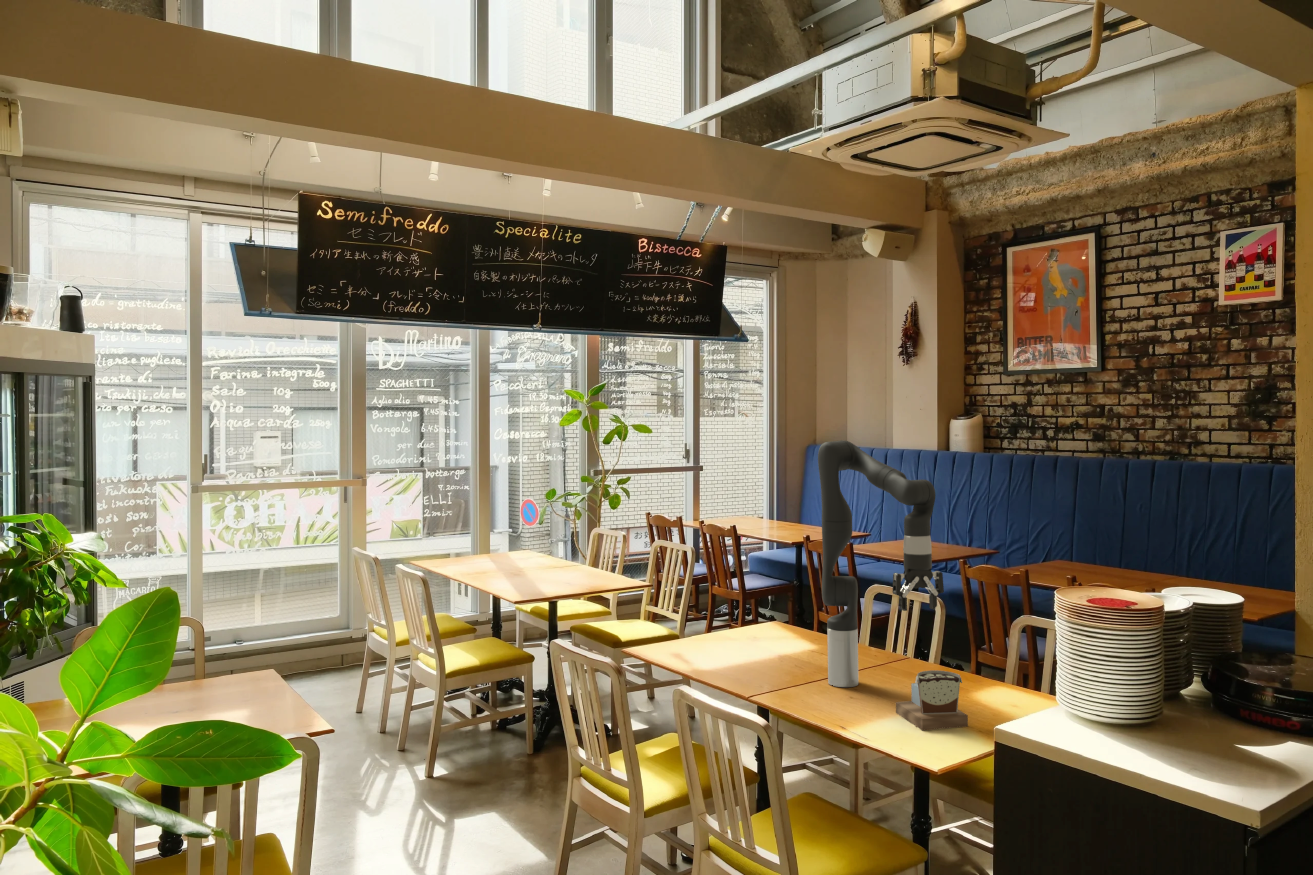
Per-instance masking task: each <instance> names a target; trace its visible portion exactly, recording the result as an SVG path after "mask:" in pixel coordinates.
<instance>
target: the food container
mask: <svg viewBox="0 0 1313 875" xmlns="http://www.w3.org/2000/svg"><path fill="white" fill-rule="evenodd" d="M914 683H916V684H917V683H918V689H919V697H920V706H921V713H922V714H948V713H957V710H959V708H958V707H959V697H960V687H961V686H960V685H961V684H963V680H962V677H961V675H960V674H958V673H955V672H952V671H945V670H935V669H934V670H932V669H931V670H923V671H920V672H918V673H917V675H916V676H915V682H914ZM960 683H961V684H960Z"/></svg>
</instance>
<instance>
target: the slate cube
mask: <svg viewBox="0 0 1313 875" xmlns="http://www.w3.org/2000/svg"><path fill="white" fill-rule="evenodd" d="M911 701H912V702H913V703H915V704H917V705H918V706H920V697H919V689H918V682H917V684H916V683H915V682H914V683H911ZM920 707H921V706H920Z"/></svg>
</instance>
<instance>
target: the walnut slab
mask: <svg viewBox="0 0 1313 875" xmlns="http://www.w3.org/2000/svg"><path fill="white" fill-rule="evenodd" d="M895 714H896V715H898V716H899V717H900V718H902V719H904V720H906V721H907V722H909V723H910V724H912V725H913V726H915V727H917V728H918V729H920V730H921V731H932V730H945V729H957V728H966V727H969V714H967V713H966V712H963V711H961V710H959V709H958V710H957V713H948V714H922V713H921V707H920V706H918V705H917V704H915V703H913V702H912V700H907V701H906V700H905V701H896V702H895Z"/></svg>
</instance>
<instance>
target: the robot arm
mask: <svg viewBox="0 0 1313 875" xmlns="http://www.w3.org/2000/svg"><path fill="white" fill-rule="evenodd" d="M817 452H818V453H817V466H818V472H819V473H818V474H819V482H820V490H821V491H820V494H821V495H820V496H821V497H820V498H821V538H822V539H821V540H822V574H821V575H822V578H821V598H822V602H823V604H824V605H825V606H827V607H846V609H844V610H843V611H842V612H840V613H838V614H836V615H832V616H830V617H829V618H827V623H826V624H827V625H826V626H827V627H826V630H827V636H826V637H827V680H828V682H827V683H828V685H830V686H832V685H833V687H839V688H852V687H856V686H858V685H859V642H858V641H859V637H858V636H859V634H858V632H859V629H858V625H859V624H858V599H859V598H858V594H859V588H858V587H859V586H858V581H857V578H856V577H855V576H849V575H848V576H847V575H833V574H834V568H835V566H836V563H837V562H838V560H839V558H840V556H841V554H842V553H843V552H844V550H845V549H846V548H847V546H848V544H849V543H850V540H851V538H852V536H853V513H852V510H851V507H850V506H849V504H848V502H847V500H846V498H845V497H844V494H843V493H842V490H841V487H840V471H847V470H852V471H856V472H857V473H858V472H859V473H861V474H862V475H864V476H865V478H866V479H867V480H868V481H869V483H870V484H872V485H873V486H874V487H876V488H878V489H880V490H882V491H884V492H886V493H889V494H890V495H891V496H892V497H893V498H894V499H895V500H896V501H897V502H899V503H900V504H902V505H904V506H905V505H906V506H911V507H912V506H913V508H912V511H911V512H910V513H908V514H907V515H905V516H904V520H903V532H904V533H903V534H904V536H903V543H902V544H903V548H902V551H903V569H904V571H903V572H902V573H898V572H894V573H893V574H892V590H891V592H892V594H893V595H896V596H898V602H899V603H898V604H899V608H900V610H902V611H904V612H906V611H907V612H908V598H907V596H908V595H909V593H910V592H912V590H913V589H916V590H917V589H926V590H927V591H928V593H929V595H928V598H929V599H928V600H929V601H928V602H929V603H928V604H929V605H928V606H929V609H931V610H936V608H937V607H938V596H939V595H940V594H943V593H944V592H945V589H944V575H943V572H941V571H940V570H935V571H933V570H932V569H933V563H932V562H933V560H932V559H933V558H932V557H933V554H932V539H931V538H932V537H931V518H932V514H933V512H934V511H933V510H934V506H935V503H936V489H935V487H934V484H932V482H931V481H929V480H928V479H908V478H907V476H906V474H905V473H903V472H902V471H901V470H898V469H896V468H895V467H892V466H890V465H887V464H885V463H883V462H881V461H879V460H877V459H876V458H874V457H872V456H871V455H870V454H868V453H866V452H865V451H864V450H863V449H861V448H860V447H858V446H857V445H855V444H854V443H852V442H850V441H849V440H844V439H843V440H842V439H841V440H835V441H834V440H833V441H826V442H823V443H822V444H821V445H820V446H819V449H818V451H817ZM932 578H933V579H934V584H935V585H934V584H933V583H932V582H931V580H932ZM903 579H904V582H903ZM902 582H903V584H902Z"/></svg>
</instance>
